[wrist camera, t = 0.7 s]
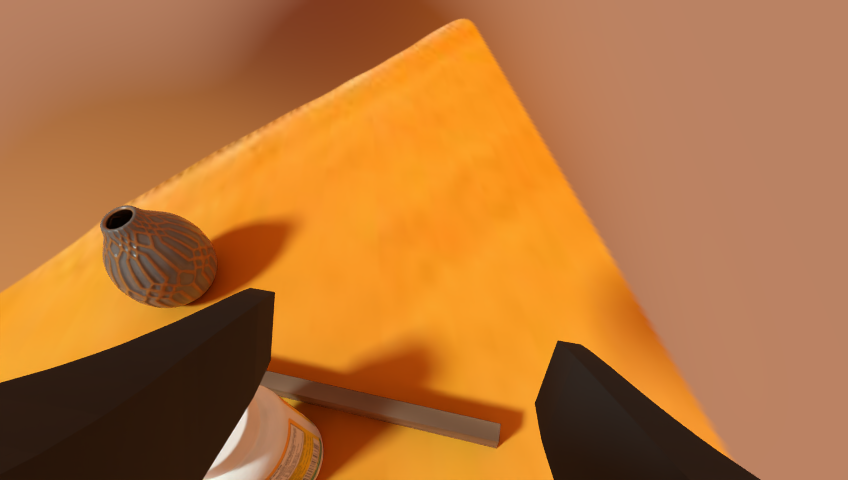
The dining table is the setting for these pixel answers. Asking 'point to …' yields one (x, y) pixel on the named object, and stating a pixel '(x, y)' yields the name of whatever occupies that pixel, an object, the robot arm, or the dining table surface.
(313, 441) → the supplement bottle
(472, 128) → the dining table surface
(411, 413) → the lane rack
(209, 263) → the vase
